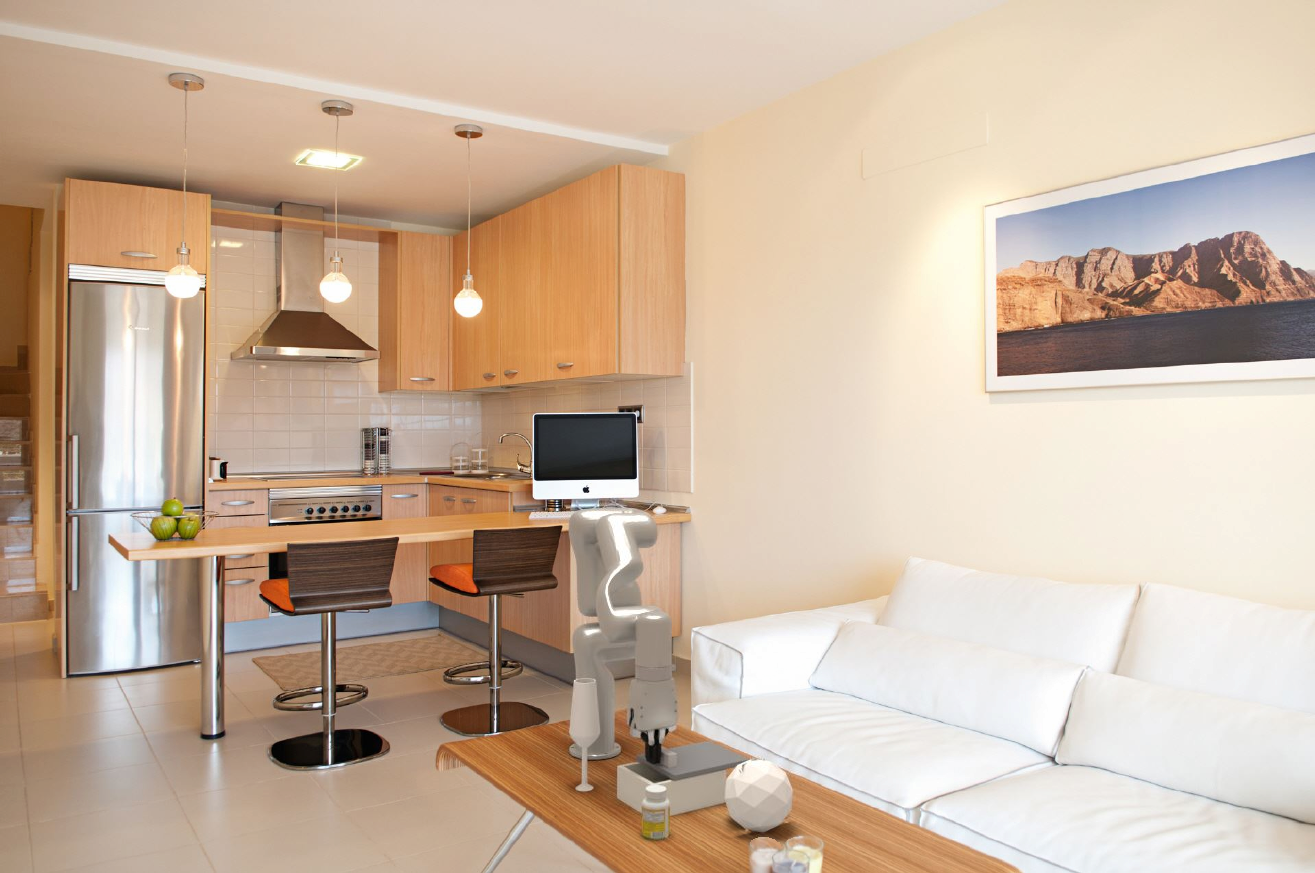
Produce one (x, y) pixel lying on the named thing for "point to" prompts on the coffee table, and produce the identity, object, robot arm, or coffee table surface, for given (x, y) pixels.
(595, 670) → the robot arm
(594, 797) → the coffee table surface
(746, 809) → the geodesic sphere
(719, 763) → the lid
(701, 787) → the storage box
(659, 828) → the supplement bottle
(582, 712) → the champagne flute
